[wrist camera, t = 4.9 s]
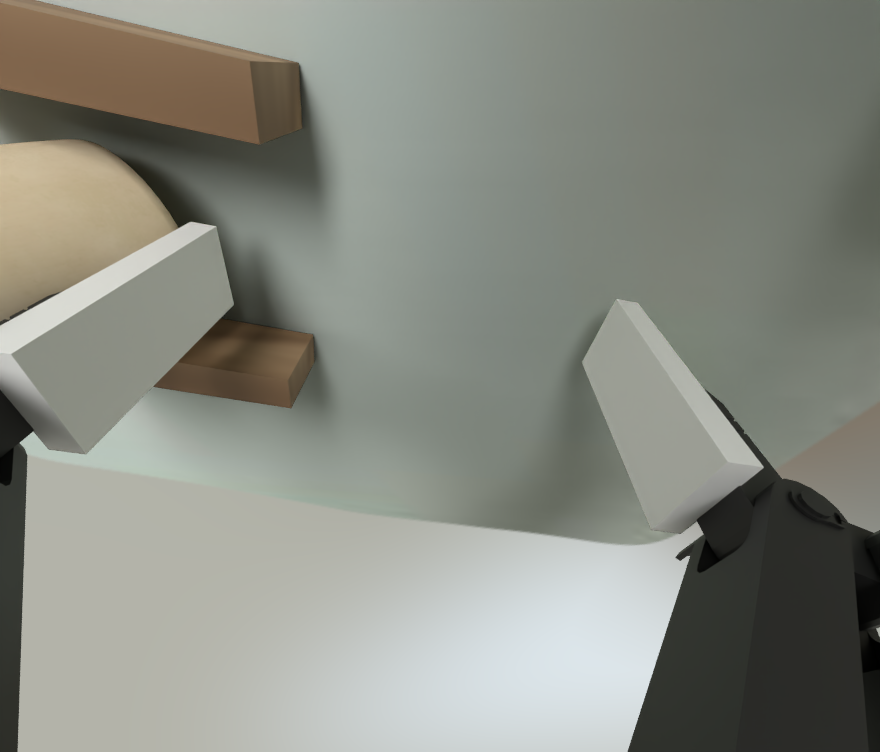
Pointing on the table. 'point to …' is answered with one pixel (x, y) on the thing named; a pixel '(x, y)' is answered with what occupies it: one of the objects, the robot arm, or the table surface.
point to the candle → (68, 217)
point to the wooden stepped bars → (182, 105)
